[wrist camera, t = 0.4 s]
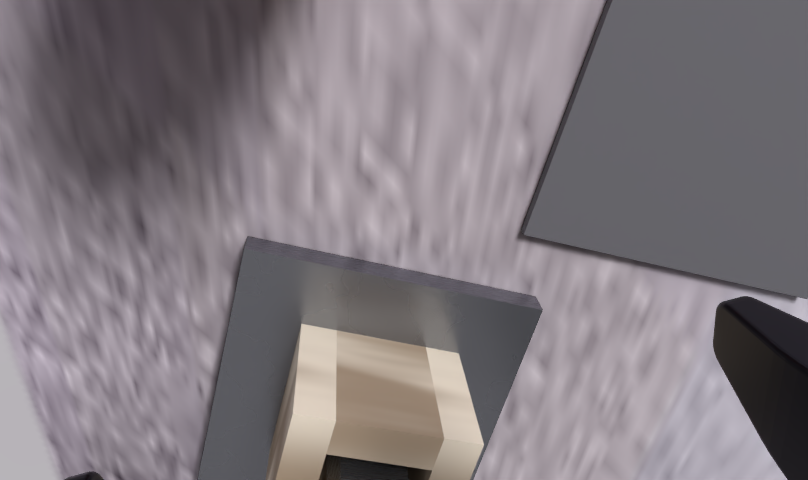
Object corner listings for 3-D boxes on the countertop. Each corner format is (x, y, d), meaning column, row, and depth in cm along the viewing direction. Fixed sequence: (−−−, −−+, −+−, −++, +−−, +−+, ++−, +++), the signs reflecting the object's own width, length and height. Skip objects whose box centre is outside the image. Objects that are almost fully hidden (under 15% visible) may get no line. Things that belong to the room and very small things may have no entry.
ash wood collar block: (415, 473, 28) (429, 578, 23) (269, 450, 27) (255, 557, 22) (458, 353, 26) (484, 445, 21) (301, 323, 24) (292, 413, 20)
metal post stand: (451, 506, 30) (480, 660, 24) (200, 470, 28) (159, 628, 22) (535, 296, 26) (598, 415, 20) (247, 236, 24) (214, 348, 18)
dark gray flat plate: (800, 294, 27) (807, 299, 27) (521, 230, 25) (523, 234, 24) (979, -16, 22) (989, -15, 22) (656, -130, 20) (661, -130, 20)
